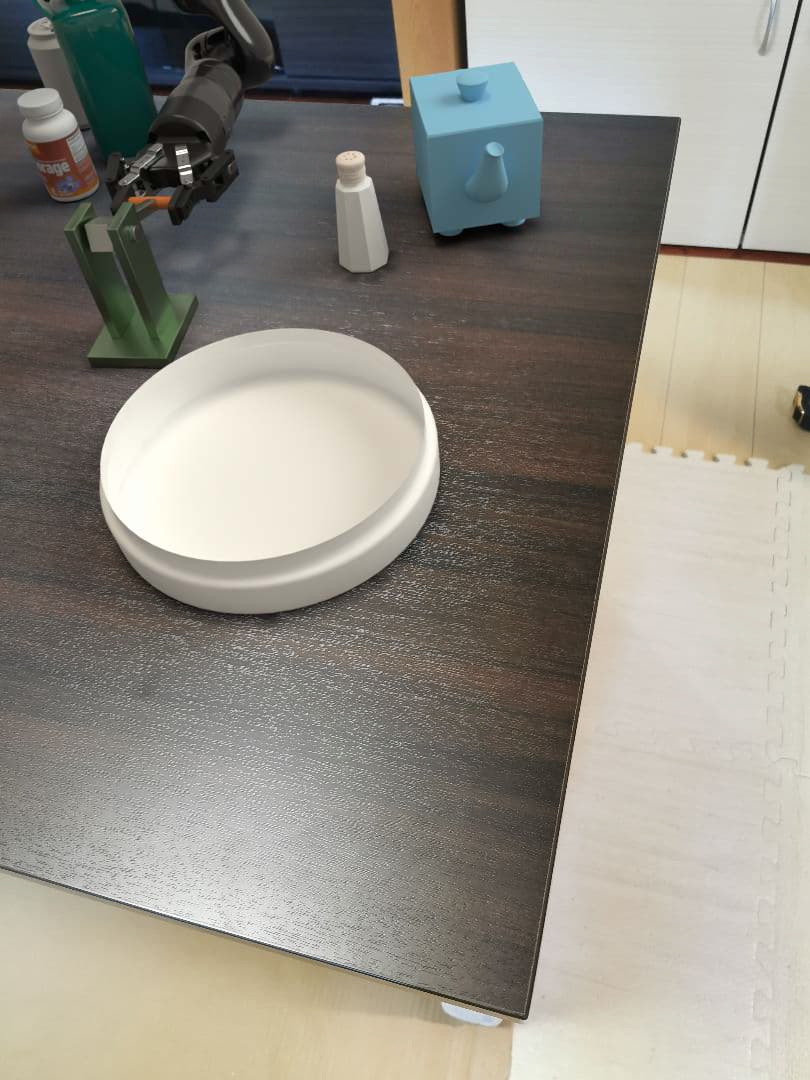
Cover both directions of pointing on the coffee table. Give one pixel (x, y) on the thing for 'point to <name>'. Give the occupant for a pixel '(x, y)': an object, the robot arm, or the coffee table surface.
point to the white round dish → (270, 470)
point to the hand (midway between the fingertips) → (146, 217)
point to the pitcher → (104, 71)
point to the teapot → (477, 147)
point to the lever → (98, 226)
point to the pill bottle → (57, 146)
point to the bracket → (130, 319)
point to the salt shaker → (358, 217)
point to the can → (54, 67)
